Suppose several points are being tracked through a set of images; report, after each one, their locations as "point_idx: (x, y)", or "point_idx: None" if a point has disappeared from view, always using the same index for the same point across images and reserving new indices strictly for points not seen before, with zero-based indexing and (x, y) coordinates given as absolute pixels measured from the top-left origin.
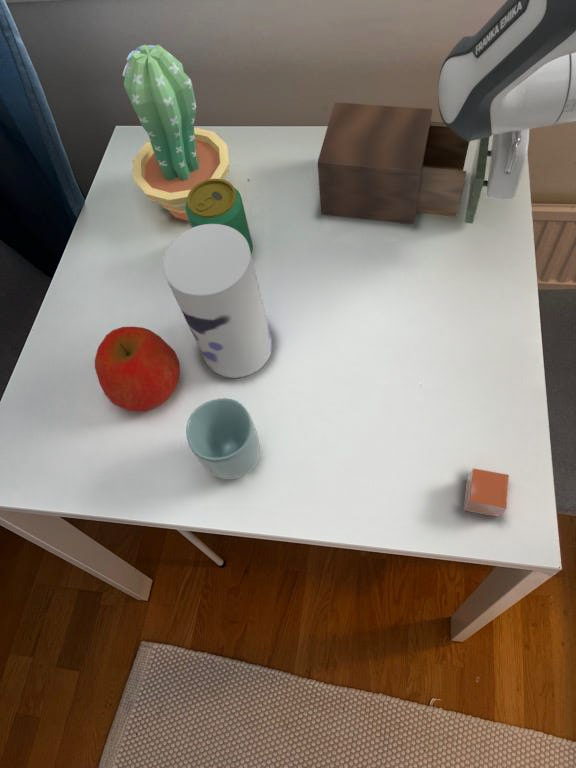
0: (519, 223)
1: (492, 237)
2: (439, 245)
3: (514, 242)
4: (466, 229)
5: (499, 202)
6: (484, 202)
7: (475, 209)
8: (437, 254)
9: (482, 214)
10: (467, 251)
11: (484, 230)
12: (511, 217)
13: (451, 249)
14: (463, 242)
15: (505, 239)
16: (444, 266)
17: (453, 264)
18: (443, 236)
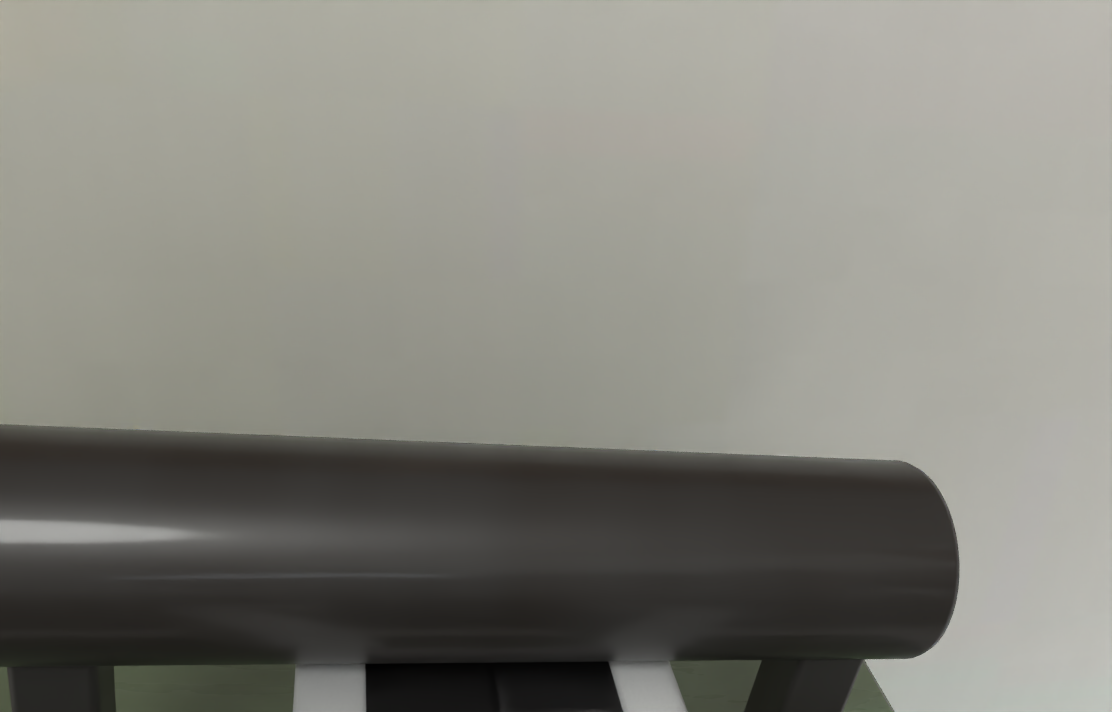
0: (763, 28)
1: (904, 311)
2: (903, 678)
3: (1012, 101)
4: None
5: (431, 239)
6: (435, 388)
7: (873, 679)
8: (982, 680)
9: (603, 402)
10: (1008, 499)
11: (807, 380)
12: (665, 115)
13: (959, 604)
14: None
15: (954, 191)
16: (1100, 631)
17: (1101, 580)
18: None
